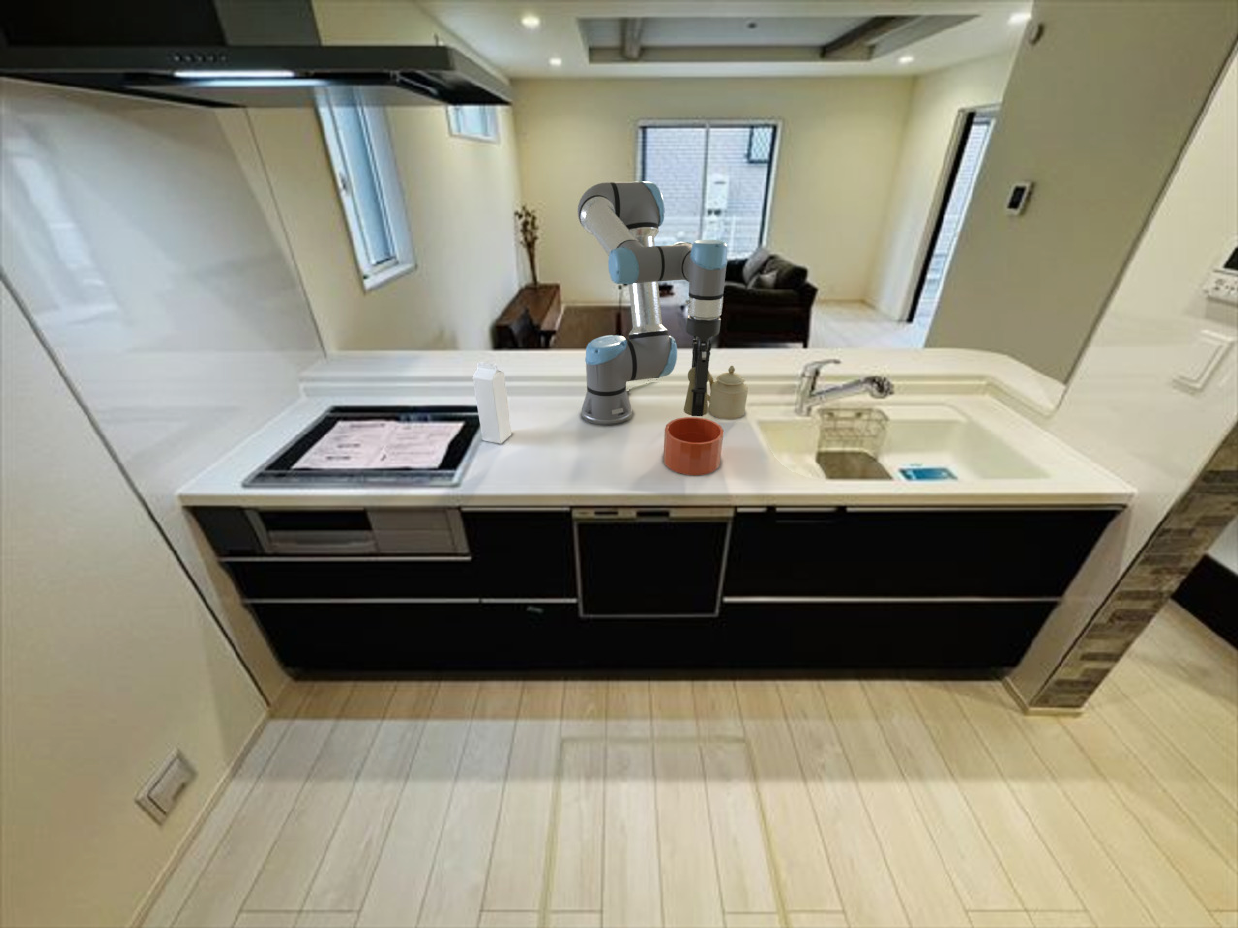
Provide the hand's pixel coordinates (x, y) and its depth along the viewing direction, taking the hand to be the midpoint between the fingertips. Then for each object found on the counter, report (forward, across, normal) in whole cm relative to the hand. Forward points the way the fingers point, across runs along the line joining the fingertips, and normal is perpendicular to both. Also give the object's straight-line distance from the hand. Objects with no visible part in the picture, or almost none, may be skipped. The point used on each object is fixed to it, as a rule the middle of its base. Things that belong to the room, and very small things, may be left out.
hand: (696, 409), depth 128 cm
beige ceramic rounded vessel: (+15, -30, +11) cm, 35 cm away
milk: (+15, -10, -54) cm, 57 cm away
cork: (+1, 0, 0) cm, 1 cm away
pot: (+15, 0, 0) cm, 15 cm away
